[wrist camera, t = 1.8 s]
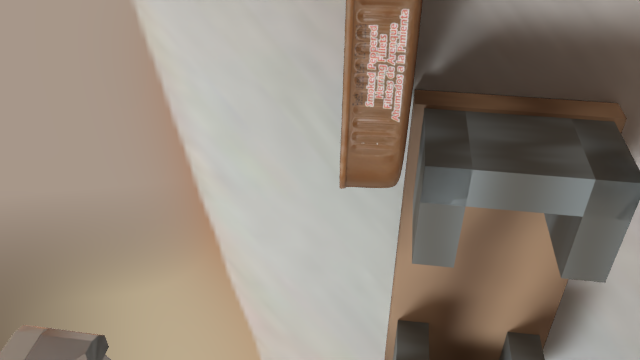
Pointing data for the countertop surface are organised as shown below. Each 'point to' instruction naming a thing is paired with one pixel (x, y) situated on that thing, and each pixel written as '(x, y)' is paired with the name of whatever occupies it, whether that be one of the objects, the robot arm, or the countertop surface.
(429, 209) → the stand
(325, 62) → the countertop surface
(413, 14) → the tin
